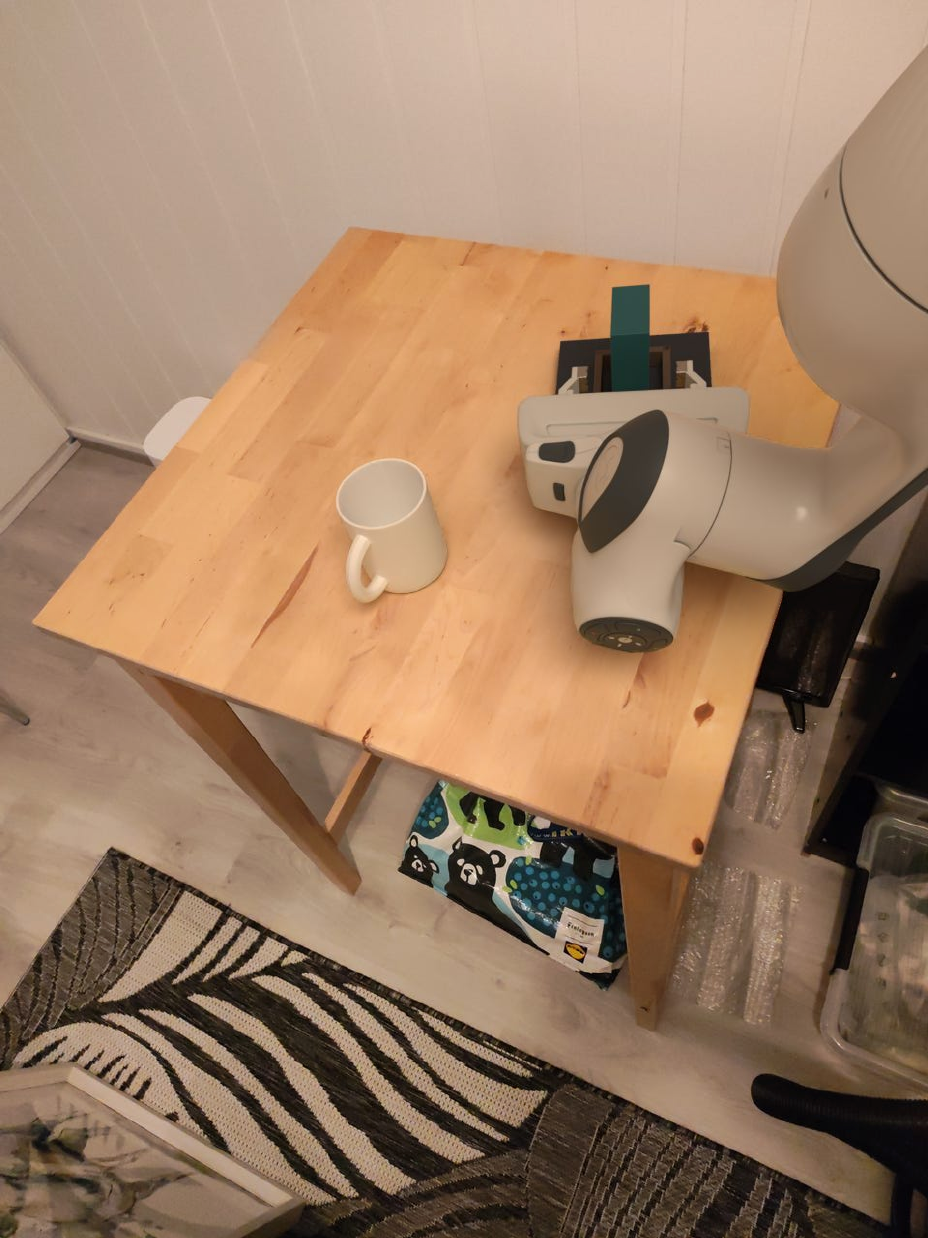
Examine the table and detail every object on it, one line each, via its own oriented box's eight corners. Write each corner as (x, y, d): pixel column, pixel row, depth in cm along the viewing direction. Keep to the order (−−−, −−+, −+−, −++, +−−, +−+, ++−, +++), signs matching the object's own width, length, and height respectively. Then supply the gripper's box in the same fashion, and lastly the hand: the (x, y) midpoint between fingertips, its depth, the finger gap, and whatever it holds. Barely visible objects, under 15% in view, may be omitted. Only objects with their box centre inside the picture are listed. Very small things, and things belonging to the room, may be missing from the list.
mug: (404, 638, 75) (375, 573, 66) (332, 612, 78) (294, 546, 69) (463, 541, 80) (443, 469, 71) (393, 520, 83) (365, 449, 74)
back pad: (648, 375, 85) (649, 283, 76) (648, 423, 81) (649, 332, 72) (614, 377, 85) (611, 286, 76) (612, 424, 82) (610, 335, 73)
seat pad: (707, 346, 88) (710, 315, 85) (714, 483, 78) (718, 454, 75) (561, 354, 92) (558, 325, 89) (549, 487, 81) (546, 459, 78)
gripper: (763, 449, 63) (752, 333, 71) (506, 457, 68) (521, 348, 75) (753, 502, 69) (744, 389, 76) (515, 506, 73) (528, 399, 80)
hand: (631, 369), depth 75 cm, fingers open, 8 cm apart
